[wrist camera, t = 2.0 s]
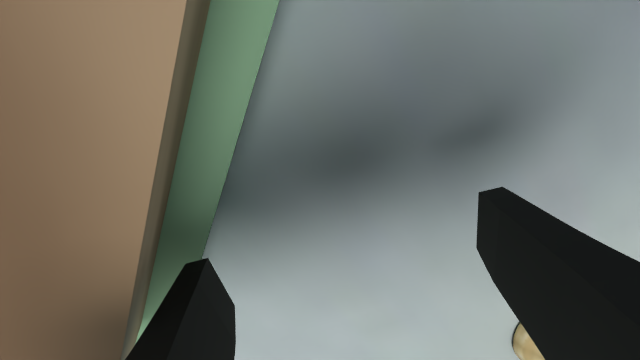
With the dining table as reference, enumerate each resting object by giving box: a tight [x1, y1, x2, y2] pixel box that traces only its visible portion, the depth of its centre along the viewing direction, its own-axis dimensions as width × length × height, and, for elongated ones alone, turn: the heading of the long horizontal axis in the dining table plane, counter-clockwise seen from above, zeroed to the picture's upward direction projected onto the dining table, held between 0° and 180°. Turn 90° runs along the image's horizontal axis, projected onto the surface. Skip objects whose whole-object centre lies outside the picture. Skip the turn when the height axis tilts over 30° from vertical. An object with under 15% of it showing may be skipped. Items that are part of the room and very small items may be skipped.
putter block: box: [0, 0, 211, 360], centre depth 8 cm, size 4×12×4 cm, turn 159°
